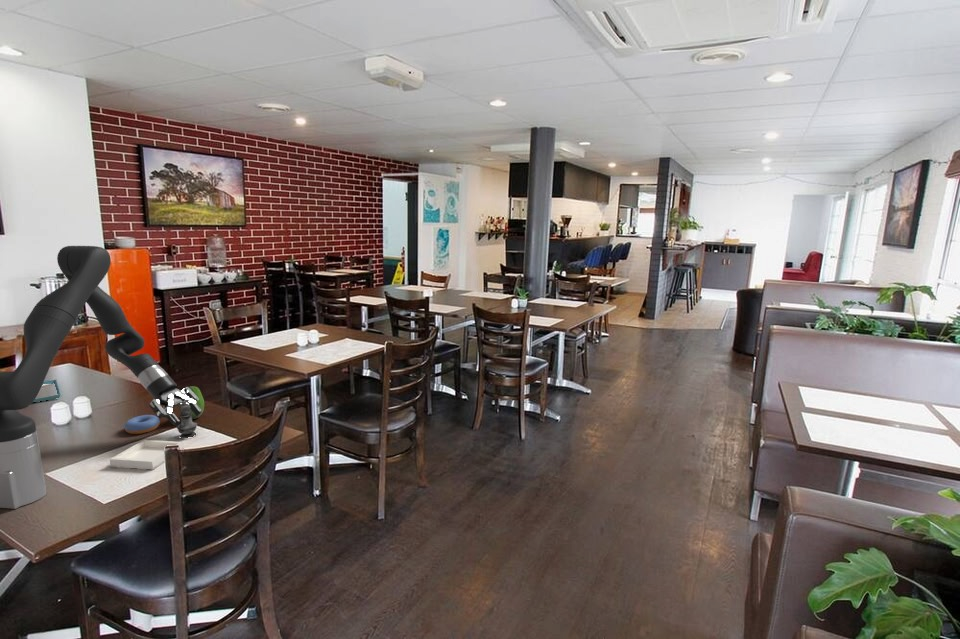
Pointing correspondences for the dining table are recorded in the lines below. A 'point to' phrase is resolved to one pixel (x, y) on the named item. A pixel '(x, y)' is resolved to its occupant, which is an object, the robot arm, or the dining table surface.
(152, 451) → the ceramic dish
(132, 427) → the doughnut
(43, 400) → the shallow long dish
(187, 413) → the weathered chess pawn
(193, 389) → the avocado
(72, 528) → the dining table surface
